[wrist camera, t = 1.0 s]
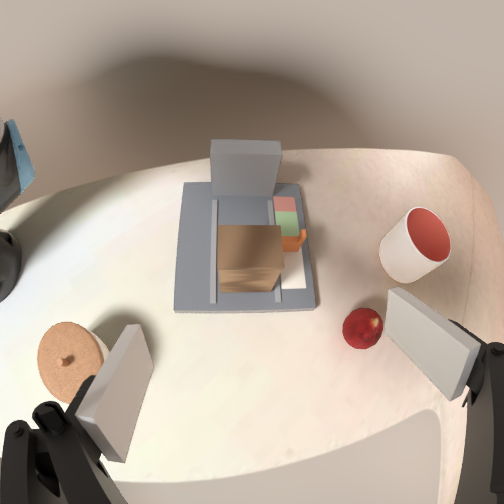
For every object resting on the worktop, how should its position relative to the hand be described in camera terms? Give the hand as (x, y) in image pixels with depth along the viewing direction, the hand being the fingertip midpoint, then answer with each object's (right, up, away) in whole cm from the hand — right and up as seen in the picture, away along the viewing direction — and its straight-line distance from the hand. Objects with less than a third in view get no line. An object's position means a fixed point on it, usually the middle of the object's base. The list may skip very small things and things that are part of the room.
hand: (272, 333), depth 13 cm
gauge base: (-2, +5, +30) cm, 31 cm away
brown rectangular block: (-2, +1, +26) cm, 26 cm away
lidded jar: (-25, -13, +20) cm, 34 cm away
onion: (+14, -8, +26) cm, 30 cm away
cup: (+26, +3, +32) cm, 41 cm away
